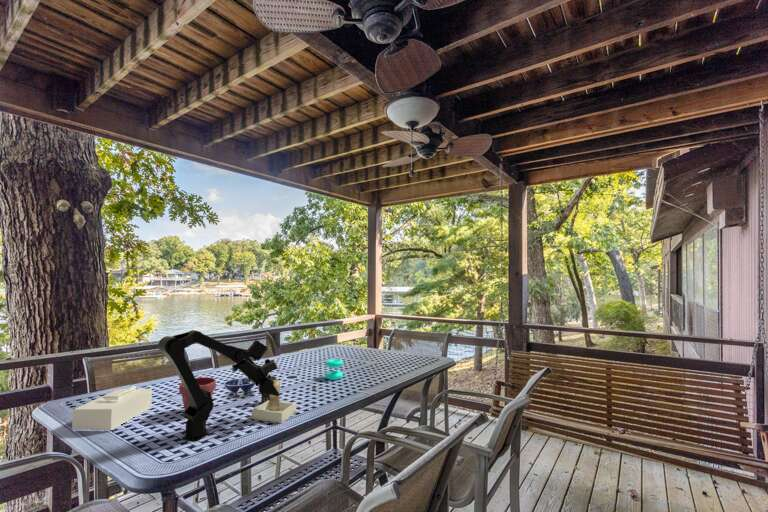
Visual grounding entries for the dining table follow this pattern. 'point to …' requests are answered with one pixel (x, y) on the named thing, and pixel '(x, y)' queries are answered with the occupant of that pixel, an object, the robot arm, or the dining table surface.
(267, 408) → the tray
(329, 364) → the teal hourglass-shaped piece
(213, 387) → the plant pot
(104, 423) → the tissue box
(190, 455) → the dining table surface
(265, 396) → the battery charger
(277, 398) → the pin
